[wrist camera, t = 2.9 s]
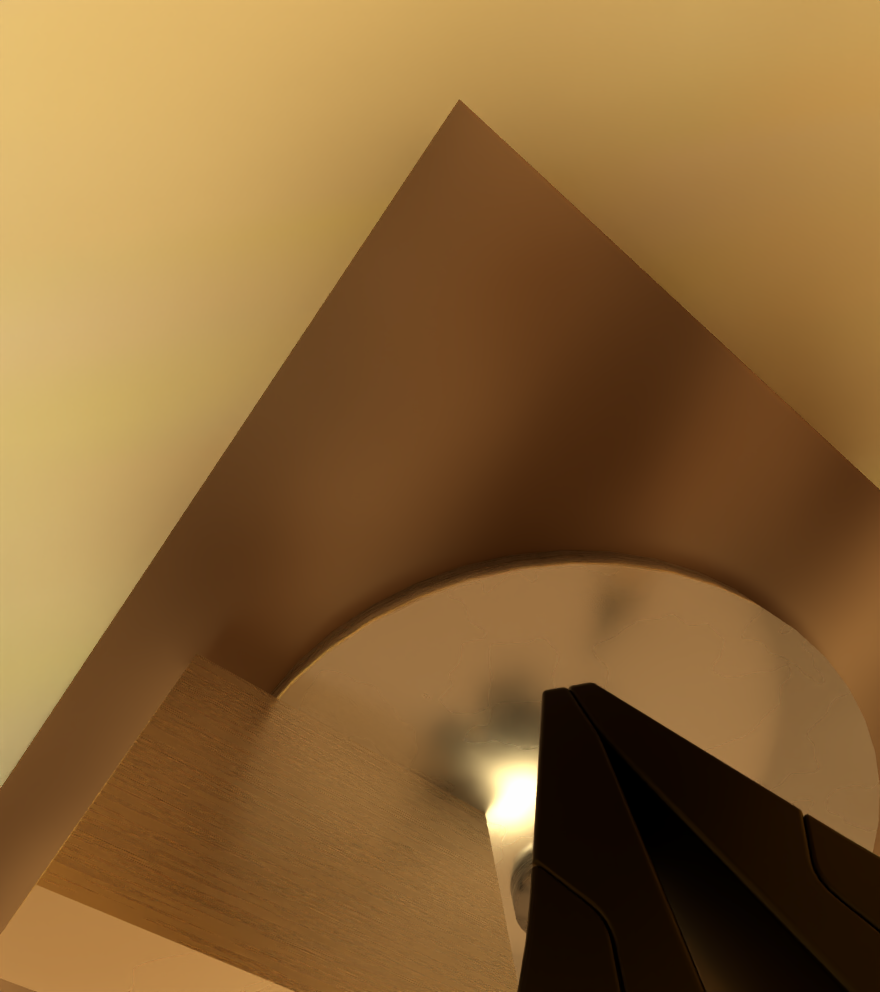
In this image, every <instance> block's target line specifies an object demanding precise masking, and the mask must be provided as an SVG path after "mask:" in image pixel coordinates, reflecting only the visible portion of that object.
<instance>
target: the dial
mask: <svg viewBox="0 0 880 992" xmlns="http://www.w3.org/2000/svg"><path fill="white" fill-rule="evenodd" d="M588 682H592V683H595V684H597V685H599V686H600V687H602V688H603V689H605V690H607V691H608V692H610V693H612V694H613V695H615V696H616V697H618V698H620V699H621V700H623V701H625V702H626V703H628V704H630V705H631V706H633V707H634V708H636V709H638V710H639V711H641V712H643V713H644V714H646V715H647V716H649V717H651V718H652V719H654V720H656V721H657V722H659V723H660V724H662V725H664V726H665V727H667V728H669V729H670V730H672V731H674V732H675V733H677V734H678V735H680V736H682V737H683V738H685V739H687V740H688V741H690V742H691V743H693V744H695V745H696V746H698V747H700V748H701V749H703V750H704V751H706V752H708V753H709V754H711V755H713V756H714V757H716V758H718V759H719V760H721V761H722V762H724V763H726V764H727V765H729V766H731V767H732V768H734V769H735V770H737V771H739V772H740V773H742V774H744V775H745V776H747V777H748V778H750V779H752V780H753V781H755V782H757V783H758V784H760V785H761V786H763V787H765V788H766V789H768V790H770V791H771V792H773V793H775V794H776V795H778V796H779V797H781V798H783V799H784V800H786V801H788V802H789V803H791V804H792V805H794V806H796V807H797V808H799V809H800V810H801V811H802V812H803V816H804V815H805V814H809V815H811V816H812V817H814V818H816V819H817V820H819V821H821V822H822V823H824V824H825V825H827V826H829V827H830V828H832V829H834V830H835V831H837V832H838V833H840V834H842V835H844V836H845V837H847V838H849V839H850V840H852V841H854V842H855V843H857V844H859V845H860V846H862V847H864V848H866V849H867V850H869V851H871V852H872V853H873V849H874V843H875V838H876V833H877V828H878V822H879V797H880V785H879V777H878V769H877V762H876V754H875V750H874V747H873V744H872V741H871V737H870V734H869V731H868V728H867V724H866V721H865V719H864V717H863V715H862V713H861V711H860V709H859V707H858V705H857V703H856V701H855V699H854V697H853V695H852V693H851V692H850V690H849V688H848V686H847V685H846V684H845V682H844V681H843V680H842V678H841V677H840V676H839V674H838V673H837V672H836V671H835V669H834V668H833V667H832V665H831V664H830V663H829V661H828V660H827V659H826V657H824V656H823V655H822V654H821V653H820V652H819V651H818V650H817V649H816V648H815V647H814V646H813V645H812V644H810V643H809V642H808V641H807V640H806V639H805V638H804V637H803V636H802V635H801V634H800V633H799V632H798V631H796V630H795V629H794V628H792V627H791V626H789V625H788V624H786V623H785V622H783V621H782V620H780V619H779V618H777V617H776V616H774V615H773V614H771V613H770V612H768V611H767V610H765V609H764V608H762V607H761V606H759V605H758V604H756V603H755V602H753V601H752V600H750V599H749V598H747V597H746V596H744V595H743V594H741V593H740V592H738V591H737V590H735V589H734V588H732V587H729V586H727V585H725V584H723V583H721V582H719V581H716V580H714V579H712V578H710V577H708V576H706V575H703V574H701V573H699V572H697V571H694V570H691V569H688V568H684V567H681V566H678V565H674V564H671V563H668V562H664V561H661V560H657V559H654V558H648V557H642V556H635V555H629V554H622V553H616V552H610V551H576V550H557V551H547V552H537V553H527V554H517V555H510V556H505V557H501V558H496V559H492V560H488V561H483V562H479V563H474V564H470V565H466V566H462V567H459V568H456V569H454V570H451V571H448V572H445V573H442V574H440V575H437V576H434V577H431V578H428V579H426V580H423V581H420V582H417V583H415V584H413V585H411V586H409V587H407V588H405V589H403V590H401V591H399V592H397V593H395V594H393V595H391V596H389V597H387V598H385V599H383V600H381V601H379V602H377V603H375V604H373V605H372V606H370V607H369V608H367V609H366V610H364V611H363V612H361V613H360V614H358V615H357V616H355V617H354V618H352V619H351V620H349V621H348V622H346V623H345V624H343V625H342V626H340V627H339V628H337V629H336V630H334V631H333V632H332V633H330V634H329V635H328V636H327V637H326V638H325V639H324V640H323V641H321V642H320V643H319V644H318V645H317V646H316V647H315V648H313V649H312V650H311V651H310V652H309V653H308V654H307V655H305V656H304V657H303V658H302V659H301V660H300V661H299V662H297V664H296V665H295V666H294V667H293V668H292V669H291V671H290V672H289V673H288V674H287V675H286V676H285V677H284V679H283V680H282V681H281V682H280V683H279V684H278V685H277V687H276V688H275V689H274V690H273V691H272V692H271V693H270V694H269V693H267V692H265V691H263V690H261V689H259V688H258V687H256V686H254V685H252V684H250V683H249V682H247V681H245V680H243V679H241V678H240V677H238V676H236V675H234V674H232V673H231V672H229V671H227V670H225V669H223V668H222V667H220V666H218V665H216V664H214V663H212V662H211V661H209V660H207V659H205V658H203V657H202V656H200V655H198V654H196V655H195V657H194V658H193V660H192V661H191V662H190V664H189V665H188V667H187V668H186V669H185V671H184V672H183V674H182V675H181V676H180V678H179V679H178V681H177V682H176V684H175V685H174V686H173V688H172V689H171V691H170V692H169V693H168V695H167V696H166V698H165V699H164V700H163V702H162V703H161V705H160V706H159V707H158V709H157V710H156V712H155V713H154V715H153V716H152V718H151V719H150V720H149V722H148V723H147V725H146V726H145V728H144V729H143V730H142V732H141V733H140V735H139V736H138V738H137V739H136V740H135V742H134V743H133V745H132V746H131V748H130V749H129V750H128V752H127V753H126V755H125V756H124V758H123V759H122V761H121V762H120V763H119V765H118V766H117V768H116V769H115V771H114V772H113V773H112V775H111V776H110V778H109V779H108V781H107V782H106V783H105V785H104V786H103V788H102V789H101V791H100V792H99V793H98V795H97V796H96V798H95V799H94V801H93V802H92V804H91V805H90V806H89V808H88V809H87V811H86V812H85V814H84V815H83V816H82V818H81V819H80V821H79V822H78V824H77V825H76V826H75V828H74V829H73V831H72V832H71V834H70V835H69V837H68V838H67V839H66V841H65V842H64V844H63V845H62V847H61V848H60V849H59V851H58V852H57V854H56V855H55V857H54V858H53V859H52V861H51V862H50V864H49V865H48V867H47V868H46V869H45V871H44V872H43V874H42V875H41V877H40V878H39V880H38V881H37V882H36V884H35V885H34V887H33V888H32V890H31V891H30V892H29V894H28V895H27V897H26V898H25V900H24V901H23V902H22V904H21V905H20V907H19V908H18V910H17V911H16V913H15V914H14V915H13V917H12V918H11V920H10V921H9V923H8V924H7V925H6V927H5V928H4V930H3V931H2V933H1V934H0V978H1V979H3V980H6V981H9V982H12V983H14V984H17V985H20V986H22V987H25V988H28V989H31V990H33V991H36V992H517V990H518V984H519V978H520V971H521V965H522V959H523V953H524V947H525V941H526V931H527V920H528V910H529V900H530V883H531V869H532V855H533V838H534V821H535V804H536V787H537V770H538V753H539V736H540V719H541V702H542V693H543V691H544V690H548V689H554V688H559V687H566V688H569V687H570V686H571V685H577V684H582V683H588Z"/></svg>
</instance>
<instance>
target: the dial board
mask: <svg viewBox="0 0 880 992" xmlns="http://www.w3.org/2000/svg"><path fill="white" fill-rule="evenodd" d="M557 550H576V551H610V552H616V553H622V554H629V555H635V556H642V557H648V558H654V559H657V560H661V561H664V562H668V563H671V564H674V565H678V566H681V567H684V568H688V569H691V570H694V571H697V572H699V573H701V574H703V575H706V576H708V577H710V578H712V579H714V580H716V581H719V582H721V583H723V584H725V585H727V586H729V587H732V588H734V589H735V590H737V591H738V592H740V593H741V594H743V595H744V596H746V597H747V598H749V599H750V600H752V601H753V602H755V603H756V604H758V605H759V606H761V607H762V608H764V609H765V610H767V611H768V612H770V613H771V614H773V615H774V616H776V617H777V618H779V619H780V620H782V621H783V622H785V623H786V624H788V625H789V626H791V627H792V628H794V629H795V630H796V631H798V632H799V633H800V634H801V635H802V636H803V637H804V638H805V639H806V640H807V641H808V642H809V643H810V644H812V645H813V646H814V647H815V648H816V649H817V650H818V651H819V652H820V653H821V654H822V655H823V656H824V657H826V659H827V660H828V661H829V663H830V664H831V665H832V667H833V668H834V669H835V671H836V672H837V673H838V674H839V676H840V677H841V678H842V680H843V681H844V682H845V684H846V685H847V686H848V688H849V690H850V692H851V693H852V695H853V697H854V699H855V701H856V703H857V705H858V707H859V709H860V711H861V713H862V715H863V717H864V719H865V721H866V724H867V728H868V731H869V734H870V737H871V741H872V744H873V747H874V750H875V754H876V762H877V769H878V777H879V785H880V490H879V489H878V488H877V487H876V486H875V485H874V484H873V483H872V482H871V481H870V480H868V479H867V478H866V477H865V476H864V475H863V474H862V473H861V472H860V471H859V470H858V469H857V468H856V467H854V466H853V465H852V464H851V463H850V462H849V461H848V460H847V459H846V458H845V457H844V456H843V455H842V454H840V453H839V452H838V451H837V450H836V449H835V448H834V447H833V446H832V445H831V444H830V443H829V442H828V441H826V440H825V439H824V438H823V437H822V436H821V435H820V434H819V433H818V432H817V431H816V430H815V429H814V428H812V427H811V426H810V425H809V424H808V423H807V422H806V421H805V420H804V419H803V418H802V417H801V416H800V415H798V414H797V413H796V412H795V411H794V410H793V409H792V408H791V407H790V406H789V405H788V404H787V403H786V402H784V401H783V400H782V399H781V398H780V397H779V396H778V395H777V394H776V393H775V392H774V391H773V390H772V389H770V388H769V387H768V386H767V385H766V384H765V383H764V382H763V381H762V380H761V379H760V378H759V377H758V376H757V375H755V374H754V373H753V372H752V371H751V370H750V369H749V368H748V367H747V366H746V365H745V364H744V363H743V362H741V361H740V360H739V359H738V358H737V357H736V356H735V355H734V354H733V353H732V352H731V351H730V350H729V349H727V348H726V347H725V346H724V345H723V344H722V343H721V342H720V341H719V340H718V339H717V338H716V337H715V336H713V335H712V334H711V333H710V332H709V331H708V330H707V329H706V328H705V327H704V326H703V325H702V324H701V323H699V322H698V321H697V320H696V319H695V318H694V317H693V316H692V315H691V314H690V313H689V312H688V311H687V310H685V309H684V308H683V307H682V306H681V305H680V304H679V303H678V302H677V301H676V300H675V299H674V298H673V297H671V296H670V295H669V294H668V293H667V292H666V291H665V290H664V289H663V288H662V287H661V286H660V285H659V284H657V283H656V282H655V281H654V280H653V279H652V278H651V277H650V276H649V275H648V274H647V273H646V272H645V271H643V270H642V269H641V268H640V267H639V266H638V265H637V264H636V263H635V262H634V261H633V260H632V259H631V258H629V257H628V256H627V255H626V254H625V253H624V252H623V251H622V250H621V249H620V248H619V247H618V246H617V245H615V244H614V243H613V242H612V241H611V240H610V239H609V238H608V237H607V236H606V235H605V234H604V233H603V232H602V231H600V230H599V229H598V228H597V227H596V226H595V225H594V224H593V223H592V222H591V221H590V220H589V219H588V218H586V217H585V216H584V215H583V214H582V213H581V212H580V211H579V210H578V209H577V208H576V207H575V206H574V205H572V204H571V203H570V202H569V201H568V200H567V199H566V198H565V197H564V196H563V195H562V194H561V193H560V192H558V191H557V190H556V189H555V188H554V187H553V186H552V185H551V184H550V183H549V182H548V181H547V180H546V179H544V178H543V177H542V176H541V175H540V174H539V173H538V172H537V171H536V170H535V169H534V168H533V167H532V166H530V165H529V164H528V163H527V162H526V161H525V160H524V159H523V158H522V157H521V156H520V155H519V154H518V153H516V152H515V151H514V150H513V149H512V148H511V147H510V146H509V145H508V144H507V143H506V142H505V141H504V140H502V139H501V138H500V137H499V136H498V135H497V134H496V133H495V132H494V131H493V130H492V129H491V128H490V127H488V126H487V125H486V124H485V123H484V122H483V121H482V120H481V119H480V118H479V117H478V116H477V115H476V114H474V113H473V112H472V111H471V110H470V109H469V108H468V107H467V106H466V105H465V104H464V103H463V102H462V101H460V100H459V101H458V102H457V104H456V105H455V107H454V108H453V110H452V111H451V113H450V114H449V116H448V117H447V119H446V120H445V122H444V123H443V125H442V126H441V128H440V129H439V131H438V132H437V134H436V135H435V137H434V138H433V140H432V141H431V143H430V144H429V146H428V147H427V149H426V150H425V152H424V153H423V155H422V156H421V158H420V159H419V161H418V162H417V164H416V165H415V167H414V168H413V170H412V171H411V173H410V174H409V176H408V177H407V179H406V180H405V182H404V183H403V185H402V186H401V188H400V189H399V191H398V192H397V194H396V195H395V197H394V198H393V200H392V201H391V203H390V204H389V206H388V207H387V209H386V210H385V212H384V213H383V215H382V216H381V218H380V219H379V221H378V222H377V224H376V225H375V227H374V228H373V230H372V231H371V233H370V234H369V236H368V237H367V239H366V240H365V242H364V243H363V245H362V246H361V248H360V249H359V251H358V252H357V254H356V255H355V257H354V258H353V260H352V261H351V263H350V264H349V266H348V267H347V269H346V270H345V272H344V273H343V275H342V276H341V278H340V279H339V281H338V282H337V284H336V285H335V287H334V288H333V290H332V291H331V293H330V294H329V296H328V297H327V299H326V300H325V302H324V303H323V305H322V306H321V308H320V309H319V311H318V313H317V314H316V316H315V317H314V319H313V320H312V322H311V323H310V325H309V326H308V328H307V329H306V331H305V332H304V334H303V335H302V337H301V338H300V340H299V341H298V343H297V344H296V346H295V347H294V349H293V350H292V352H291V353H290V355H289V356H288V358H287V359H286V361H285V362H284V364H283V365H282V367H281V368H280V370H279V371H278V373H277V374H276V376H275V377H274V379H273V380H272V382H271V383H270V385H269V386H268V388H267V389H266V391H265V392H264V394H263V395H262V397H261V398H260V400H259V401H258V403H257V404H256V406H255V407H254V409H253V410H252V412H251V413H250V415H249V416H248V418H247V419H246V421H245V422H244V424H243V425H242V427H241V428H240V430H239V431H238V433H237V434H236V436H235V437H234V439H233V440H232V442H231V443H230V445H229V446H228V448H227V449H226V451H225V452H224V454H223V455H222V457H221V458H220V460H219V461H218V463H217V464H216V466H215V467H214V469H213V470H212V472H211V473H210V475H209V476H208V478H207V479H206V481H205V482H204V484H203V485H202V487H201V488H200V490H199V491H198V493H197V494H196V496H195V497H194V499H193V500H192V502H191V503H190V505H189V506H188V508H187V509H186V511H185V512H184V514H183V515H182V517H181V518H180V520H179V521H178V523H177V524H176V526H175V527H174V529H173V530H172V532H171V533H170V535H169V537H168V538H167V540H166V541H165V543H164V544H163V546H162V547H161V549H160V550H159V552H158V553H157V555H156V556H155V558H154V559H153V561H152V562H151V564H150V565H149V567H148V568H147V570H146V571H145V573H144V574H143V576H142V577H141V579H140V580H139V582H138V583H137V585H136V586H135V588H134V589H133V591H132V592H131V594H130V595H129V597H128V598H127V600H126V601H125V603H124V604H123V606H122V607H121V609H120V610H119V612H118V613H117V615H116V616H115V618H114V619H113V621H112V622H111V624H110V625H109V627H108V628H107V630H106V631H105V633H104V634H103V636H102V637H101V639H100V640H99V642H98V643H97V645H96V646H95V648H94V649H93V651H92V652H91V654H90V655H89V657H88V658H87V660H86V661H85V663H84V664H83V666H82V667H81V669H80V670H79V672H78V673H77V675H76V676H75V678H74V679H73V681H72V682H71V684H70V685H69V687H68V688H67V690H66V691H65V693H64V694H63V696H62V697H61V699H60V700H59V702H58V703H57V705H56V706H55V708H54V709H53V711H52V712H51V714H50V715H49V717H48V718H47V720H46V721H45V723H44V724H43V726H42V727H41V729H40V730H39V732H38V733H37V735H36V736H35V738H34V739H33V741H32V742H31V744H30V745H29V747H28V748H27V750H26V751H25V753H24V754H23V756H22V757H21V759H20V760H19V762H18V764H17V765H16V767H15V768H14V770H13V771H12V773H11V774H10V776H9V777H8V779H7V780H6V782H5V783H4V785H3V786H2V788H1V789H0V934H1V933H2V931H3V930H4V928H5V927H6V925H7V924H8V923H9V921H10V920H11V918H12V917H13V915H14V914H15V913H16V911H17V910H18V908H19V907H20V905H21V904H22V902H23V901H24V900H25V898H26V897H27V895H28V894H29V892H30V891H31V890H32V888H33V887H34V885H35V884H36V882H37V881H38V880H39V878H40V877H41V875H42V874H43V872H44V871H45V869H46V868H47V867H48V865H49V864H50V862H51V861H52V859H53V858H54V857H55V855H56V854H57V852H58V851H59V849H60V848H61V847H62V845H63V844H64V842H65V841H66V839H67V838H68V837H69V835H70V834H71V832H72V831H73V829H74V828H75V826H76V825H77V824H78V822H79V821H80V819H81V818H82V816H83V815H84V814H85V812H86V811H87V809H88V808H89V806H90V805H91V804H92V802H93V801H94V799H95V798H96V796H97V795H98V793H99V792H100V791H101V789H102V788H103V786H104V785H105V783H106V782H107V781H108V779H109V778H110V776H111V775H112V773H113V772H114V771H115V769H116V768H117V766H118V765H119V763H120V762H121V761H122V759H123V758H124V756H125V755H126V753H127V752H128V750H129V749H130V748H131V746H132V745H133V743H134V742H135V740H136V739H137V738H138V736H139V735H140V733H141V732H142V730H143V729H144V728H145V726H146V725H147V723H148V722H149V720H150V719H151V718H152V716H153V715H154V713H155V712H156V710H157V709H158V707H159V706H160V705H161V703H162V702H163V700H164V699H165V698H166V696H167V695H168V693H169V692H170V691H171V689H172V688H173V686H174V685H175V684H176V682H177V681H178V679H179V678H180V676H181V675H182V674H183V672H184V671H185V669H186V668H187V667H188V665H189V664H190V662H191V661H192V660H193V658H194V657H195V655H196V654H198V655H200V656H202V657H203V658H205V659H207V660H209V661H211V662H212V663H214V664H216V665H218V666H220V667H222V668H223V669H225V670H227V671H229V672H231V673H232V674H234V675H236V676H238V677H240V678H241V679H243V680H245V681H247V682H249V683H250V684H252V685H254V686H256V687H258V688H259V689H261V690H263V691H265V692H267V693H269V694H270V693H271V692H272V691H273V690H274V689H275V688H276V687H277V685H278V684H279V683H280V682H281V681H282V680H283V679H284V677H285V676H286V675H287V674H288V673H289V672H290V671H291V669H292V668H293V667H294V666H295V665H296V664H297V662H299V661H300V660H301V659H302V658H303V657H304V656H305V655H307V654H308V653H309V652H310V651H311V650H312V649H313V648H315V647H316V646H317V645H318V644H319V643H320V642H321V641H323V640H324V639H325V638H326V637H327V636H328V635H329V634H330V633H332V632H333V631H334V630H336V629H337V628H339V627H340V626H342V625H343V624H345V623H346V622H348V621H349V620H351V619H352V618H354V617H355V616H357V615H358V614H360V613H361V612H363V611H364V610H366V609H367V608H369V607H370V606H372V605H373V604H375V603H377V602H379V601H381V600H383V599H385V598H387V597H389V596H391V595H393V594H395V593H397V592H399V591H401V590H403V589H405V588H407V587H409V586H411V585H413V584H415V583H417V582H420V581H423V580H426V579H428V578H431V577H434V576H437V575H440V574H442V573H445V572H448V571H451V570H454V569H456V568H459V567H462V566H466V565H470V564H474V563H479V562H483V561H488V560H492V559H496V558H501V557H505V556H510V555H517V554H527V553H537V552H547V551H557ZM873 853H874V854H876V855H877V856H879V857H880V797H879V822H878V828H877V833H876V838H875V843H874V849H873ZM0 992H36V991H33V990H31V989H28V988H25V987H22V986H20V985H17V984H14V983H12V982H9V981H6V980H3V979H1V978H0Z"/></svg>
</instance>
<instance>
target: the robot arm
mask: <svg viewBox="0 0 880 992" xmlns="http://www.w3.org/2000/svg"><path fill="white" fill-rule="evenodd" d="M517 992H880V857H879V856H877V855H876V854H874V853H872V852H871V851H869V850H867V849H866V848H864V847H862V846H860V845H859V844H857V843H855V842H854V841H852V840H850V839H849V838H847V837H845V836H844V835H842V834H840V833H838V832H837V831H835V830H834V829H832V828H830V827H829V826H827V825H825V824H824V823H822V822H821V821H819V820H817V819H816V818H814V817H812V816H811V815H809V814H805V815H804V816H803V812H802V811H801V810H800V809H799V808H797V807H796V806H794V805H792V804H791V803H789V802H788V801H786V800H784V799H783V798H781V797H779V796H778V795H776V794H775V793H773V792H771V791H770V790H768V789H766V788H765V787H763V786H761V785H760V784H758V783H757V782H755V781H753V780H752V779H750V778H748V777H747V776H745V775H744V774H742V773H740V772H739V771H737V770H735V769H734V768H732V767H731V766H729V765H727V764H726V763H724V762H722V761H721V760H719V759H718V758H716V757H714V756H713V755H711V754H709V753H708V752H706V751H704V750H703V749H701V748H700V747H698V746H696V745H695V744H693V743H691V742H690V741H688V740H687V739H685V738H683V737H682V736H680V735H678V734H677V733H675V732H674V731H672V730H670V729H669V728H667V727H665V726H664V725H662V724H660V723H659V722H657V721H656V720H654V719H652V718H651V717H649V716H647V715H646V714H644V713H643V712H641V711H639V710H638V709H636V708H634V707H633V706H631V705H630V704H628V703H626V702H625V701H623V700H621V699H620V698H618V697H616V696H615V695H613V694H612V693H610V692H608V691H607V690H605V689H603V688H602V687H600V686H599V685H597V684H595V683H592V682H588V683H582V684H577V685H571V686H570V687H569V688H566V687H559V688H554V689H548V690H544V691H543V693H542V702H541V719H540V736H539V753H538V770H537V787H536V804H535V821H534V838H533V855H532V869H531V883H530V900H529V910H528V920H527V931H526V941H525V947H524V953H523V959H522V965H521V971H520V978H519V984H518V990H517Z"/></svg>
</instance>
